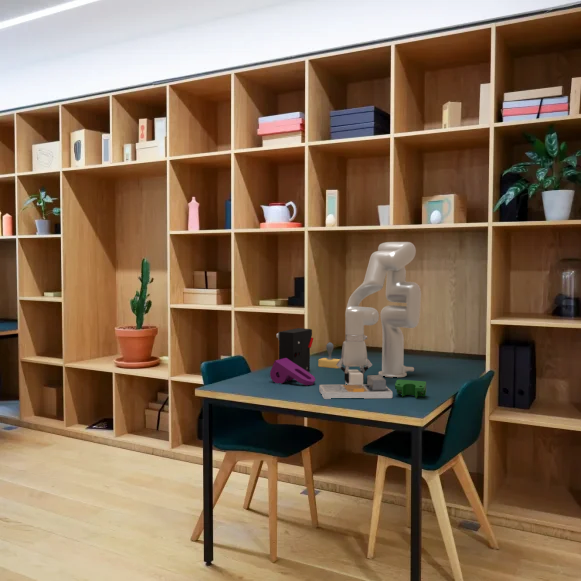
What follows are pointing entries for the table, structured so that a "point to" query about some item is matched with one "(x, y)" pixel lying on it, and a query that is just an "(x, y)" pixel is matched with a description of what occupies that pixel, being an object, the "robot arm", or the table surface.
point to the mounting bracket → (290, 372)
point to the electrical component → (296, 346)
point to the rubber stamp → (328, 361)
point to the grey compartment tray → (358, 389)
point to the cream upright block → (355, 377)
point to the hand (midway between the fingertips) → (354, 382)
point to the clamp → (411, 387)
